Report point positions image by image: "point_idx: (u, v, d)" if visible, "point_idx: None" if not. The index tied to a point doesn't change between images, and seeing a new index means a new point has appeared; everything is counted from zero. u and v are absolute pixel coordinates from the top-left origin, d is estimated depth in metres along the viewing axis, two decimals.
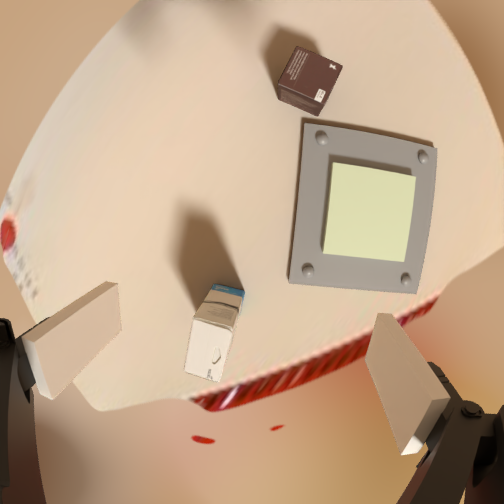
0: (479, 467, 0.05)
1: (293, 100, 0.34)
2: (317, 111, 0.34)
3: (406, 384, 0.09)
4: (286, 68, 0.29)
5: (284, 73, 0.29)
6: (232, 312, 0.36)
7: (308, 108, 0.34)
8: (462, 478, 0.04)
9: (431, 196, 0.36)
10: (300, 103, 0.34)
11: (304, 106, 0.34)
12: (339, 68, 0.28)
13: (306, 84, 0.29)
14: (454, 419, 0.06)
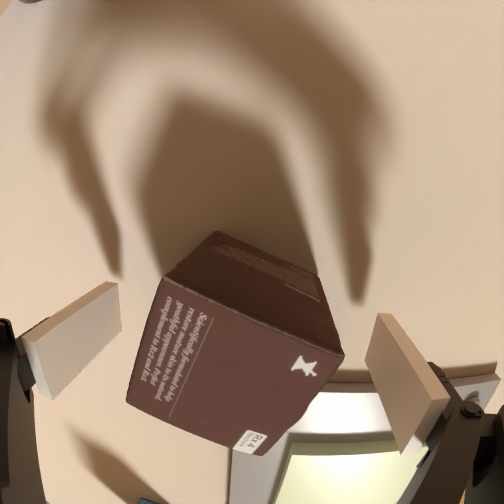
0: (479, 467, 0.05)
1: None
2: None
3: (406, 384, 0.09)
4: (138, 364, 0.09)
5: (135, 379, 0.09)
6: None
7: None
8: (462, 478, 0.04)
9: None
10: None
11: None
12: (330, 370, 0.08)
13: (208, 418, 0.09)
14: (454, 419, 0.06)
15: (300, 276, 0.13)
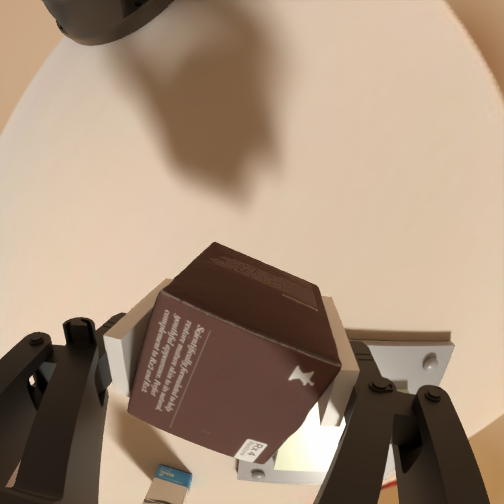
0: (406, 451, 0.07)
1: None
2: None
3: None
4: (138, 376, 0.09)
5: (136, 390, 0.09)
6: None
7: None
8: (381, 453, 0.05)
9: None
10: None
11: None
12: (327, 379, 0.08)
13: (208, 427, 0.09)
14: (362, 395, 0.07)
15: (298, 285, 0.13)
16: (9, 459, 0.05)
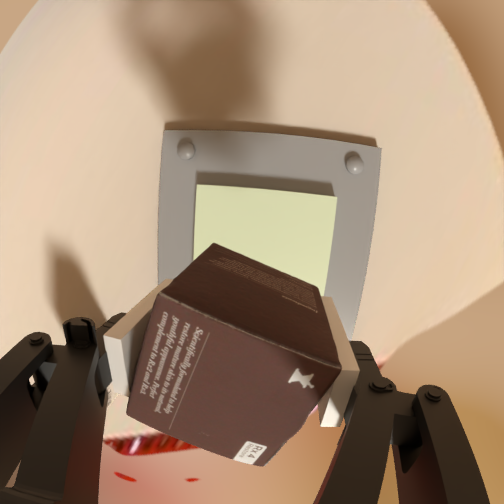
0: (406, 451, 0.07)
1: None
2: None
3: None
4: (137, 378, 0.09)
5: (135, 392, 0.09)
6: None
7: None
8: (381, 453, 0.05)
9: (369, 225, 0.26)
10: None
11: None
12: (327, 381, 0.08)
13: (207, 430, 0.09)
14: (362, 395, 0.07)
15: (298, 287, 0.13)
16: (9, 459, 0.04)
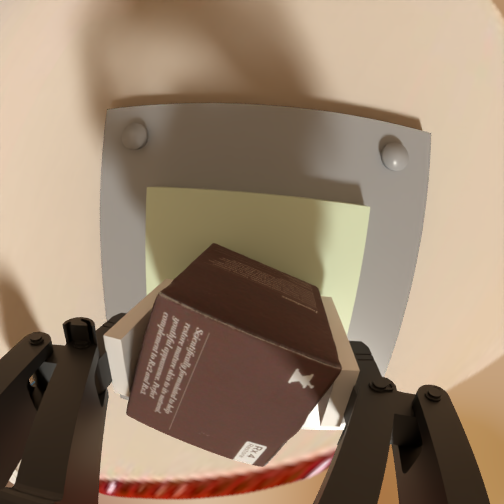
0: (406, 451, 0.07)
1: None
2: None
3: None
4: (137, 378, 0.09)
5: (135, 392, 0.09)
6: None
7: None
8: (381, 453, 0.05)
9: (412, 250, 0.16)
10: None
11: None
12: (327, 382, 0.08)
13: (207, 430, 0.09)
14: (362, 395, 0.07)
15: (298, 287, 0.13)
16: (10, 460, 0.04)
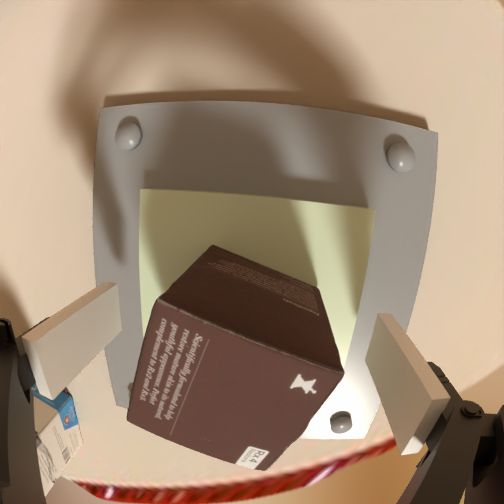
0: (479, 467, 0.05)
1: None
2: None
3: (406, 384, 0.09)
4: (136, 384, 0.09)
5: (135, 399, 0.09)
6: None
7: None
8: (462, 478, 0.04)
9: (419, 255, 0.15)
10: None
11: None
12: (330, 387, 0.08)
13: (208, 435, 0.09)
14: (454, 419, 0.06)
15: (299, 289, 0.13)
16: None
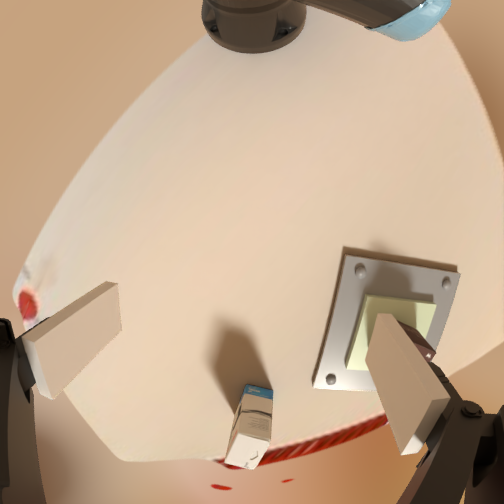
0: (479, 467, 0.05)
1: None
2: None
3: (406, 384, 0.09)
4: None
5: None
6: (267, 421, 0.38)
7: None
8: (462, 478, 0.04)
9: (446, 316, 0.39)
10: None
11: None
12: (433, 356, 0.32)
13: None
14: (454, 419, 0.06)
15: (415, 331, 0.37)
16: None
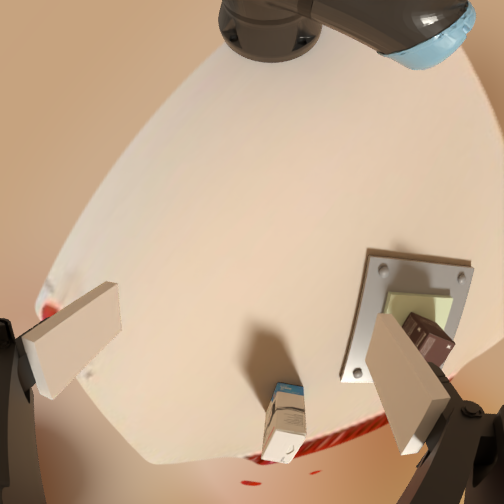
0: (479, 467, 0.05)
1: None
2: None
3: (406, 384, 0.09)
4: None
5: None
6: (301, 416, 0.40)
7: None
8: (462, 478, 0.04)
9: (461, 308, 0.40)
10: None
11: None
12: (452, 347, 0.33)
13: None
14: (454, 419, 0.06)
15: (435, 324, 0.38)
16: None
